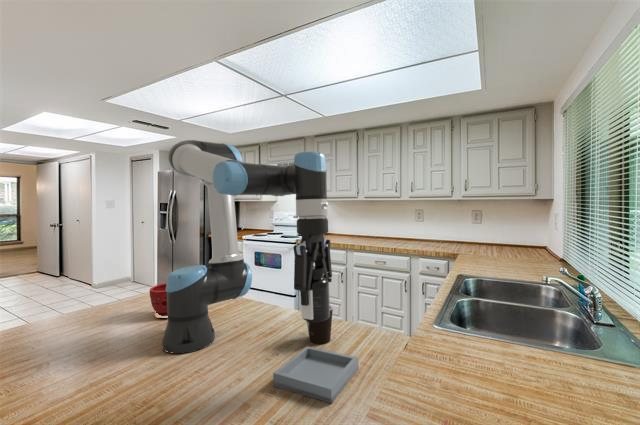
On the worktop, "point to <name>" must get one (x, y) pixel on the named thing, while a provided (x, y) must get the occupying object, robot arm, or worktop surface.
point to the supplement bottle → (320, 295)
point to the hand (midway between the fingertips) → (315, 313)
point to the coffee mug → (320, 330)
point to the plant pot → (160, 303)
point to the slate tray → (316, 373)
